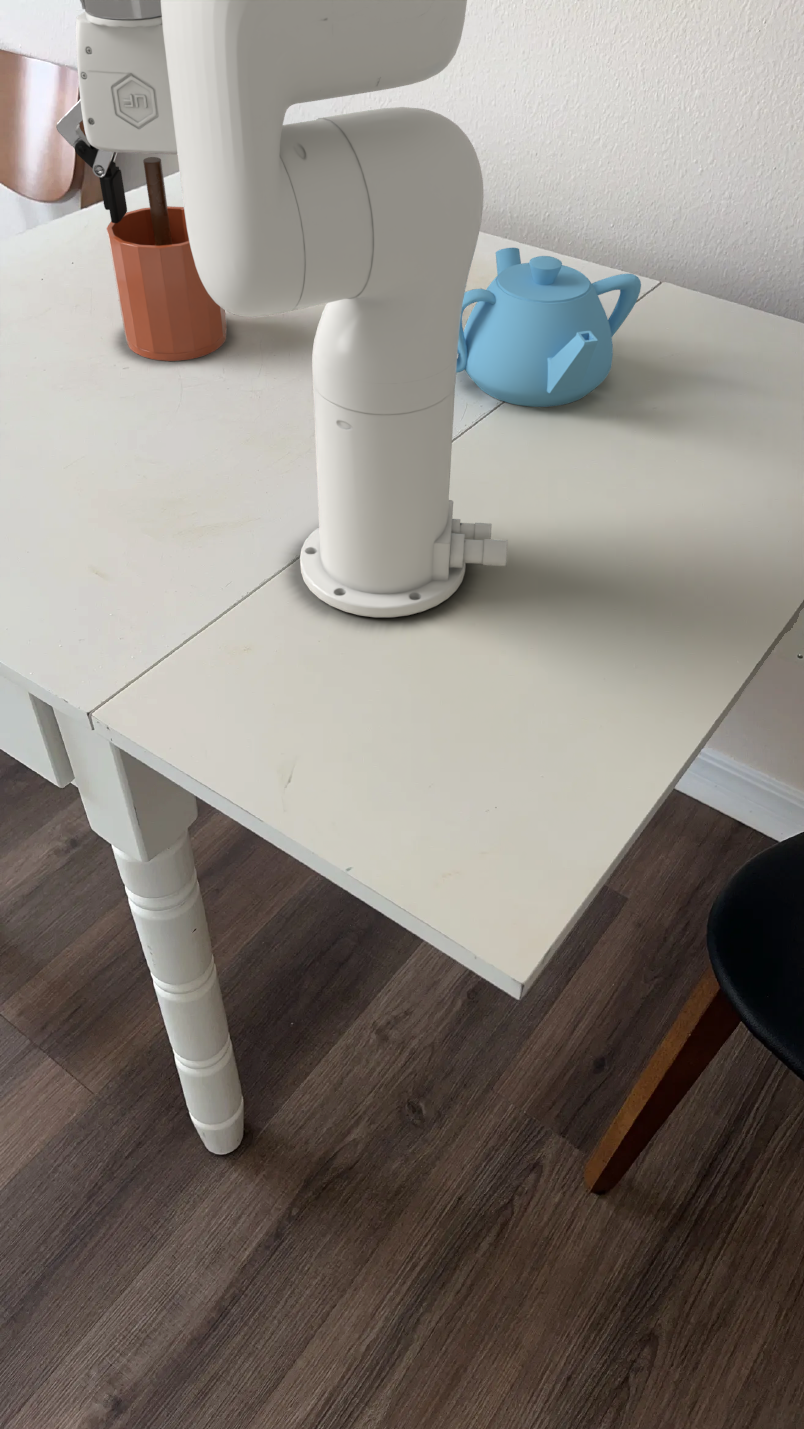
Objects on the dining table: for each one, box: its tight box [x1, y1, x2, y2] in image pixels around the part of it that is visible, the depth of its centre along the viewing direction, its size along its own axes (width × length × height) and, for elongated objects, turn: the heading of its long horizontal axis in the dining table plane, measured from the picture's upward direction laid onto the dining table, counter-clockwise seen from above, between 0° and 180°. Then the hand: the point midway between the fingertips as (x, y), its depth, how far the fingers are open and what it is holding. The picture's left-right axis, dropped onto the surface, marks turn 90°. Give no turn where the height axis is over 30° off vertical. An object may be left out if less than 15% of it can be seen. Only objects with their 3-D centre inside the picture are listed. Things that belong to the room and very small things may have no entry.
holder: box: [106, 205, 228, 362], centre depth 105 cm, size 10×10×11 cm
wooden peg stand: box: [142, 156, 172, 246], centre depth 103 cm, size 5×5×16 cm
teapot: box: [456, 247, 642, 408], centre depth 101 cm, size 15×17×11 cm
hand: (160, 218), depth 101 cm, fingers open, 7 cm apart
